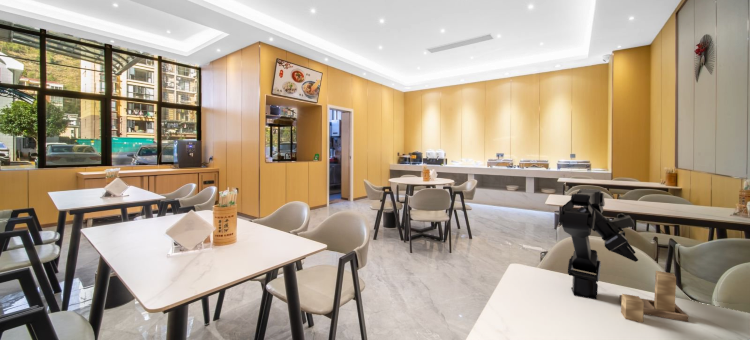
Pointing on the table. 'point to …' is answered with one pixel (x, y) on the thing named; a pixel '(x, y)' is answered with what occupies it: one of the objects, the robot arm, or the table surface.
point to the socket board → (651, 310)
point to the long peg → (665, 291)
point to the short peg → (632, 307)
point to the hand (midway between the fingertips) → (635, 257)
